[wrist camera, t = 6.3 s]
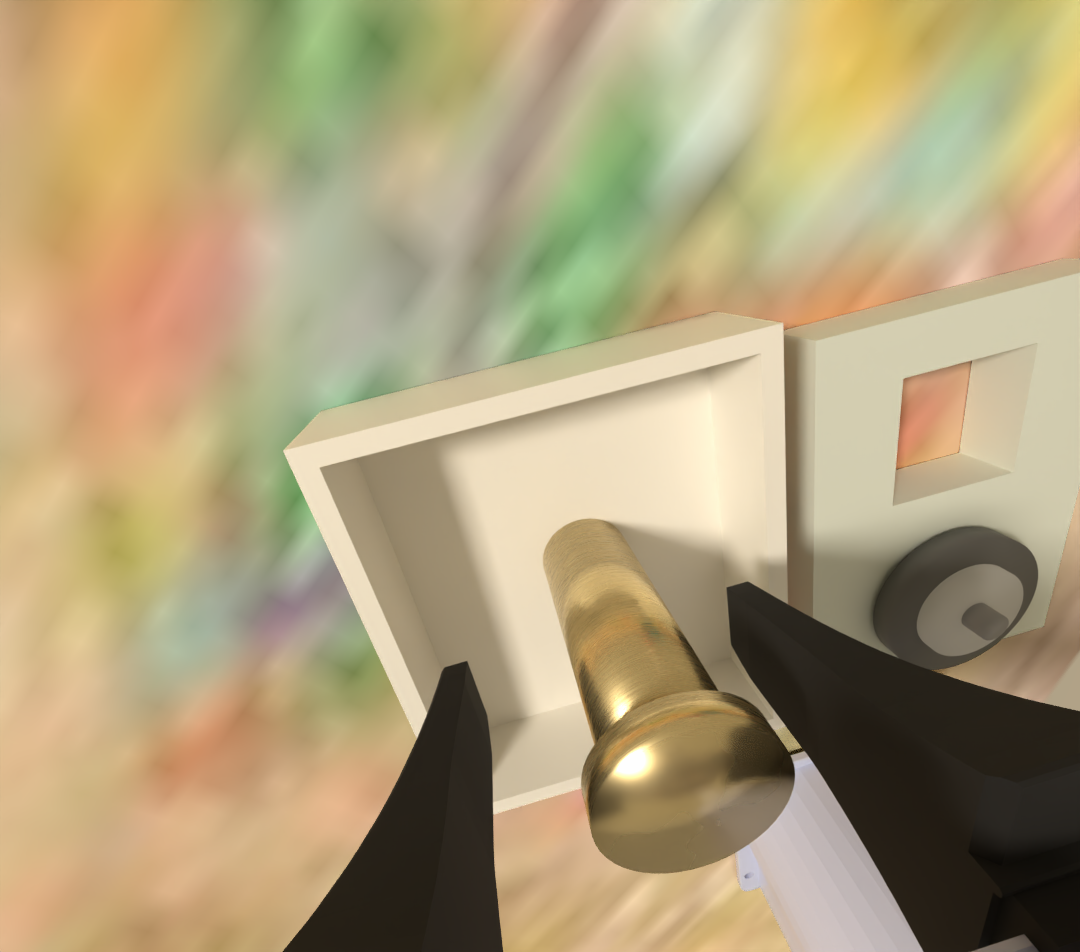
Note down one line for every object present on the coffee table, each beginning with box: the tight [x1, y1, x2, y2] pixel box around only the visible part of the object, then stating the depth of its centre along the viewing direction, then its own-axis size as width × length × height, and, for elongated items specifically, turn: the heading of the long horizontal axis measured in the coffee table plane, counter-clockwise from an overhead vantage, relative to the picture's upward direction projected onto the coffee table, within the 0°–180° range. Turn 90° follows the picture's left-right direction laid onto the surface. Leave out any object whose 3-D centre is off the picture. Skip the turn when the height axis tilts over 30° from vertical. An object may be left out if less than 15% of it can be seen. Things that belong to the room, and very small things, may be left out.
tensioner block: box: [783, 259, 1080, 670], centre depth 17 cm, size 14×10×4 cm
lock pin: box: [543, 518, 795, 873], centre depth 13 cm, size 4×4×9 cm
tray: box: [283, 311, 788, 815], centre depth 16 cm, size 14×12×4 cm
